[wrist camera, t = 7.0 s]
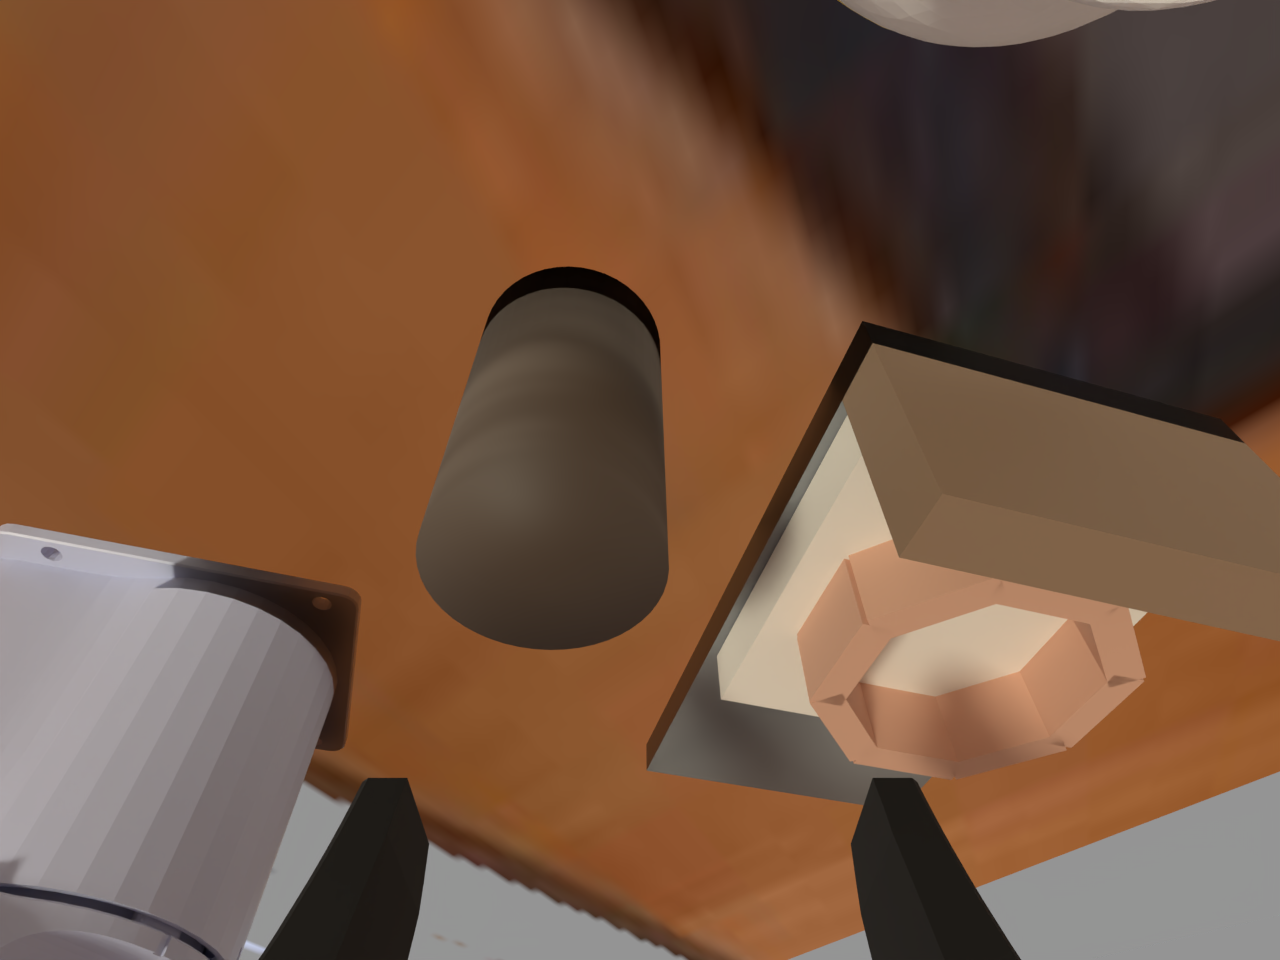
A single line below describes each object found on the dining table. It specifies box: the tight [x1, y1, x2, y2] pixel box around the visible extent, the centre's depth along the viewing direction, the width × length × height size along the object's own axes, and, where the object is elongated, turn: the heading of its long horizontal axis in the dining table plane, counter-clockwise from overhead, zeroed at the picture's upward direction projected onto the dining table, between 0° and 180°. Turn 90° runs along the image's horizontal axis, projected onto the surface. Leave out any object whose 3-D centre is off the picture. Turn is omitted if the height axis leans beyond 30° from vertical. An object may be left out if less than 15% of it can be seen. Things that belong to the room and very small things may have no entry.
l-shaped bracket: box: [646, 321, 1280, 805], centre depth 21 cm, size 10×17×6 cm, turn 164°
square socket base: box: [717, 415, 1147, 780], centre depth 20 cm, size 9×9×4 cm
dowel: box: [416, 266, 669, 650], centre depth 15 cm, size 4×4×7 cm
